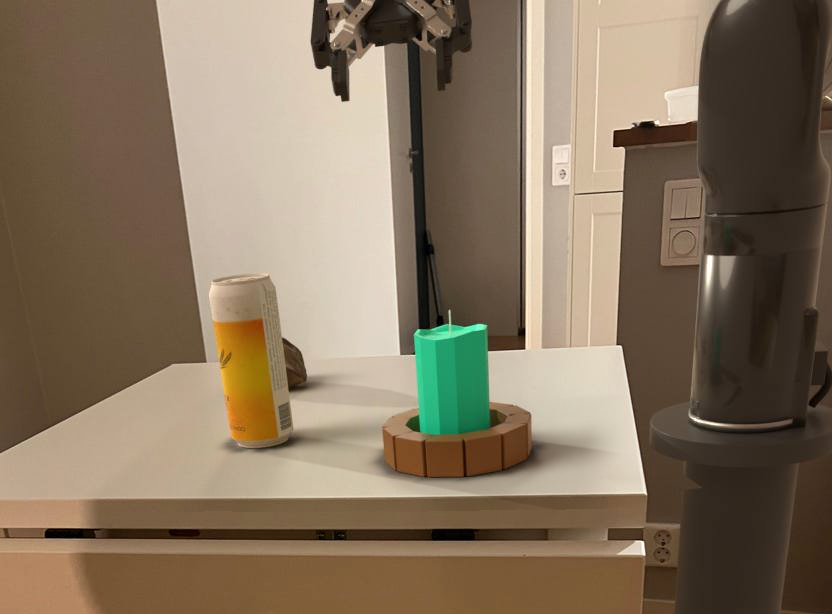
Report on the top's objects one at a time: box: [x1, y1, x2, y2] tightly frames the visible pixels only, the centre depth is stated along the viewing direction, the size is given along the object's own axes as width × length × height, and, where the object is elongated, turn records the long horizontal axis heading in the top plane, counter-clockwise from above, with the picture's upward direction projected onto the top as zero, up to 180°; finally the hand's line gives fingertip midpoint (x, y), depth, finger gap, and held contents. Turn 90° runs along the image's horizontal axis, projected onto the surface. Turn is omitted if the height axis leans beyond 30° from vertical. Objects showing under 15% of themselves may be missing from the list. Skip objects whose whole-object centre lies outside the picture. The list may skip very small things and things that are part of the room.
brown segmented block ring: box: [381, 401, 533, 478], centre depth 82 cm, size 12×12×3 cm
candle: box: [413, 309, 490, 435], centre depth 80 cm, size 6×6×12 cm
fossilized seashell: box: [282, 336, 308, 389], centre depth 113 cm, size 8×7×10 cm
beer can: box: [208, 272, 294, 449], centre depth 89 cm, size 6×6×15 cm
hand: (392, 88), depth 83 cm, fingers open, 8 cm apart
